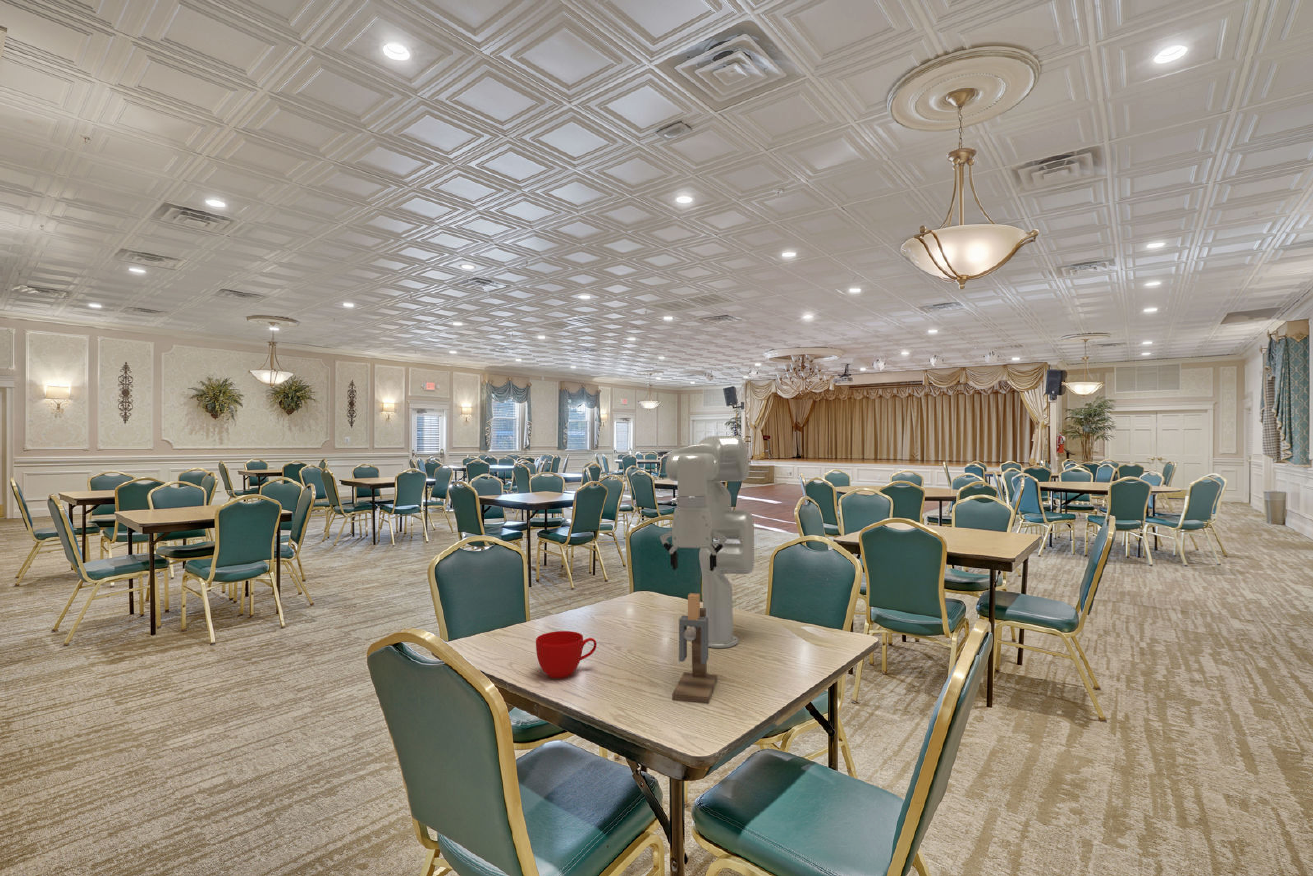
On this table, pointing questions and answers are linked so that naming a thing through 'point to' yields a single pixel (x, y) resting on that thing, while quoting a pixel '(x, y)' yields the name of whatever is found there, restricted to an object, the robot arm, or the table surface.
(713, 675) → the hook stand
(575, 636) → the ceramic cup
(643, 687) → the table surface
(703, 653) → the grey arch stand
